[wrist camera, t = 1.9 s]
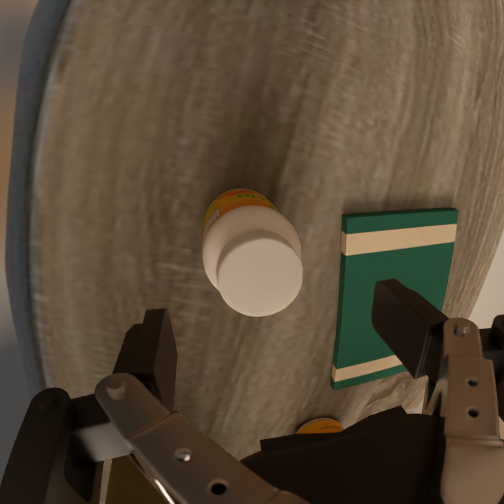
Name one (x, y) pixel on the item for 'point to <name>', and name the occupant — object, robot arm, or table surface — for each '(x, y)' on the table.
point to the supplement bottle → (251, 253)
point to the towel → (381, 268)
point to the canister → (130, 485)
